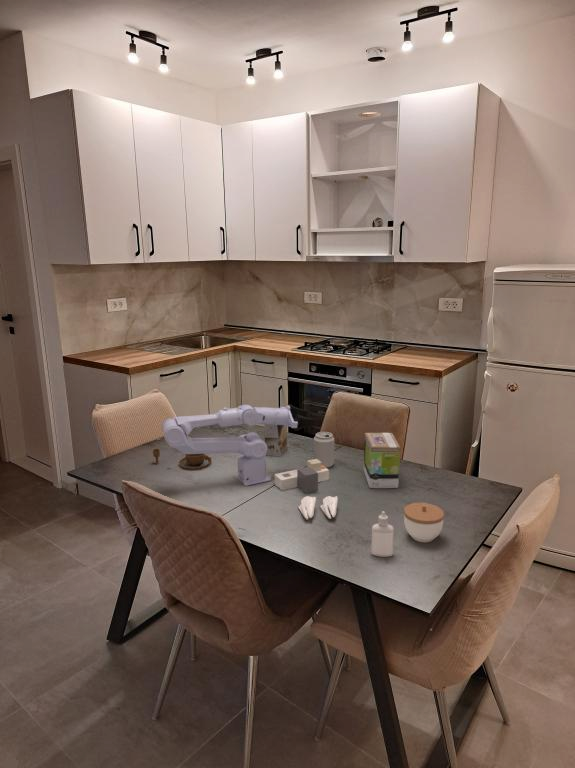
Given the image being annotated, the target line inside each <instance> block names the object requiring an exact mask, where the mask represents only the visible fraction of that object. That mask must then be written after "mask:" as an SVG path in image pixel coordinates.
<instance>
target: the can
mask: <svg viewBox="0 0 575 768" xmlns="http://www.w3.org/2000/svg"><path fill="white" fill-rule="evenodd" d="M313 459H317V460H319V461H320V462H321V465H323V466H325V468H327V469H330V468H331V467H332V466H333V465H334V464H335V437H334V435H333V433H332V432H328V431H319V432H317V433H315V436H314V437H313Z"/></svg>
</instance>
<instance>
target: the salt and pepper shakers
mask: <svg viewBox="0 0 575 768" xmlns="http://www.w3.org/2000/svg"><path fill="white" fill-rule="evenodd" d="M338 499H339V497H338V496H337V495H336V496H330V495H328V496H325V497H324V498H323V499H322V504H321V505H320V506H319V508H320V509H321V511H322V512H323V513H324V514H325V515H326V516H327V519H330V520H331V519H332V518H335V517H336V516H337V515H336V514H337V507H338ZM316 501H317V497H316V496H310V495H307V496H304V497H302V499H301V500H300V505H298V509H299V511H300V513H301V514H302V516H303V517H304V518H305V520H307V521H308V520H309V519H312V518H313V516H314V514H315V507H316ZM331 515H332V516H331Z"/></svg>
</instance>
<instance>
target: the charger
mask: <svg viewBox="0 0 575 768" xmlns="http://www.w3.org/2000/svg"><path fill="white" fill-rule="evenodd" d="M296 470H297V487H296V488H298V489H299V490H300V491H301V490H302V491H301V492H302V493H304V495H309V494H314V493H317V491H318V492H319V482H318V473H317V472H316V471H315V470H313V469H312V468H310V467H307V466H306V467H302V468H297V469H296ZM308 493H309V494H308Z"/></svg>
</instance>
